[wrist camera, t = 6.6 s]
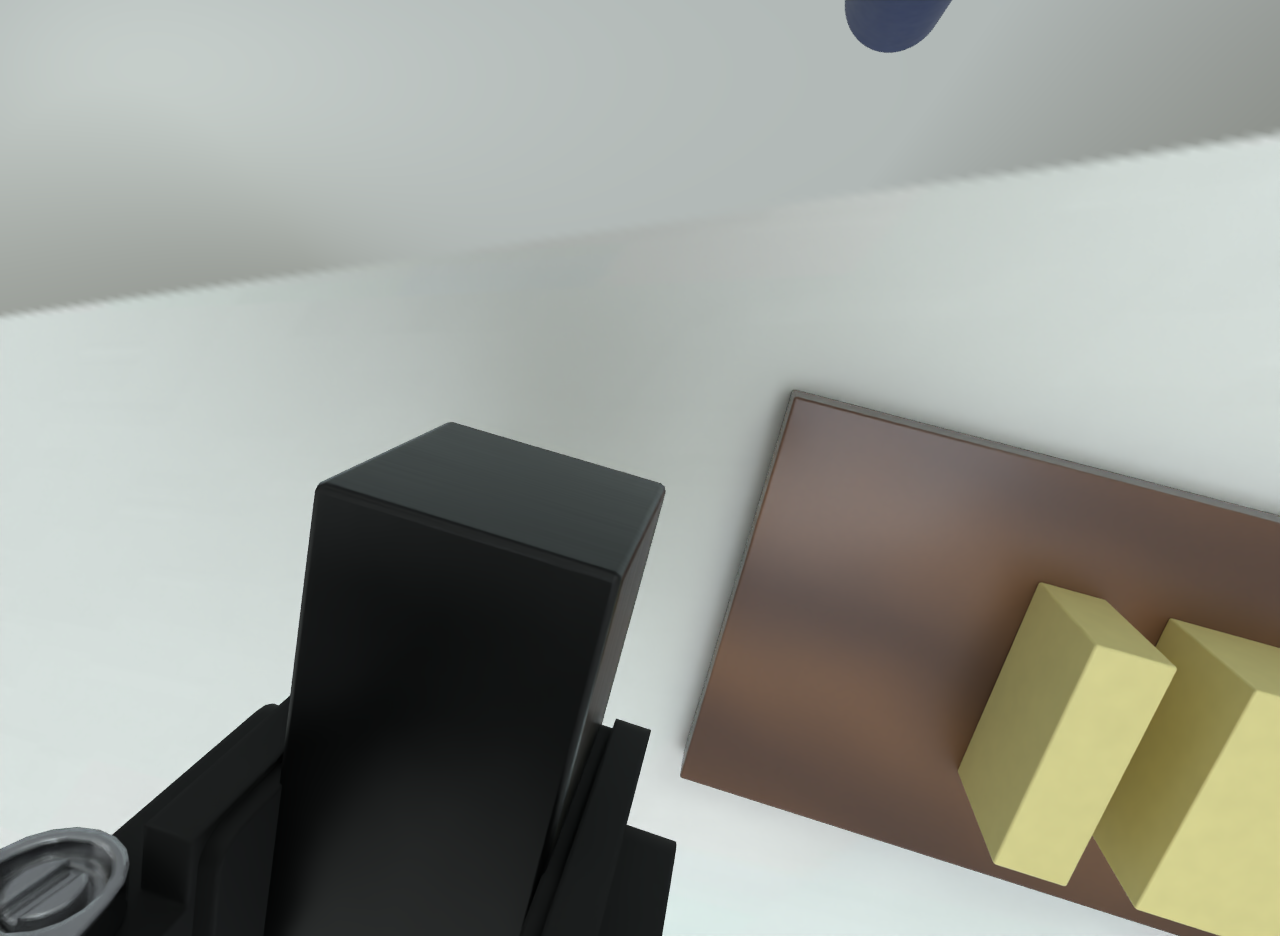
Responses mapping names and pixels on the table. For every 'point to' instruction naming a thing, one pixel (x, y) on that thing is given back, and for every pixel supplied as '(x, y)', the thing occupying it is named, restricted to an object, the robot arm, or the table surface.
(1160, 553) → the board
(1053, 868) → the butter slice
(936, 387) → the table surface
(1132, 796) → the butter block
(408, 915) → the knife
